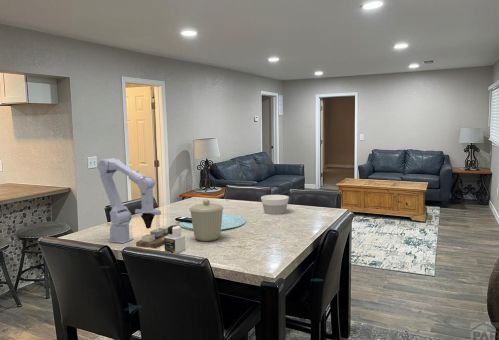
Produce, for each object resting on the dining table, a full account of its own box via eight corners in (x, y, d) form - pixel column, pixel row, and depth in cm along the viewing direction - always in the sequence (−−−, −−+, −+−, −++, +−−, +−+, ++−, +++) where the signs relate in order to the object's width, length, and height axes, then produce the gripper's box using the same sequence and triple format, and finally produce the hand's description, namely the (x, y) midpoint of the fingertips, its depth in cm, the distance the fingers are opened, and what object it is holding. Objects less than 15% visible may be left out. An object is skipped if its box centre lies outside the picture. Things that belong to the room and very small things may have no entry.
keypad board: (136, 245, 195) (136, 241, 195) (162, 234, 215) (162, 230, 215) (156, 248, 190) (155, 243, 190) (180, 236, 211) (180, 232, 210)
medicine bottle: (164, 251, 185) (163, 226, 184) (175, 247, 191) (174, 223, 190) (175, 253, 181) (174, 228, 180) (185, 249, 187) (184, 225, 186)
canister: (207, 232, 218) (206, 195, 216) (231, 237, 207) (230, 198, 204) (183, 239, 204) (181, 200, 202) (207, 245, 193) (205, 204, 191)
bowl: (290, 215, 257) (290, 199, 256) (261, 215, 257) (260, 199, 256) (288, 209, 276) (287, 194, 275) (261, 209, 276) (260, 194, 275)
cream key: (141, 241, 196) (141, 236, 195) (147, 238, 200) (147, 234, 200) (149, 242, 194) (149, 237, 194) (154, 239, 198) (154, 235, 198)
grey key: (150, 236, 202) (150, 231, 202) (155, 233, 206) (155, 229, 206) (157, 236, 200) (157, 232, 200) (162, 234, 204) (162, 230, 204)
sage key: (158, 232, 208) (158, 228, 208) (163, 230, 213) (163, 226, 212) (165, 233, 207) (165, 228, 206) (170, 231, 211) (170, 226, 211)
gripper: (130, 202, 194) (131, 228, 196) (154, 203, 189) (155, 231, 190) (139, 199, 201) (140, 225, 202) (162, 201, 195) (164, 227, 197)
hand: (148, 228), depth 197 cm, fingers closed
